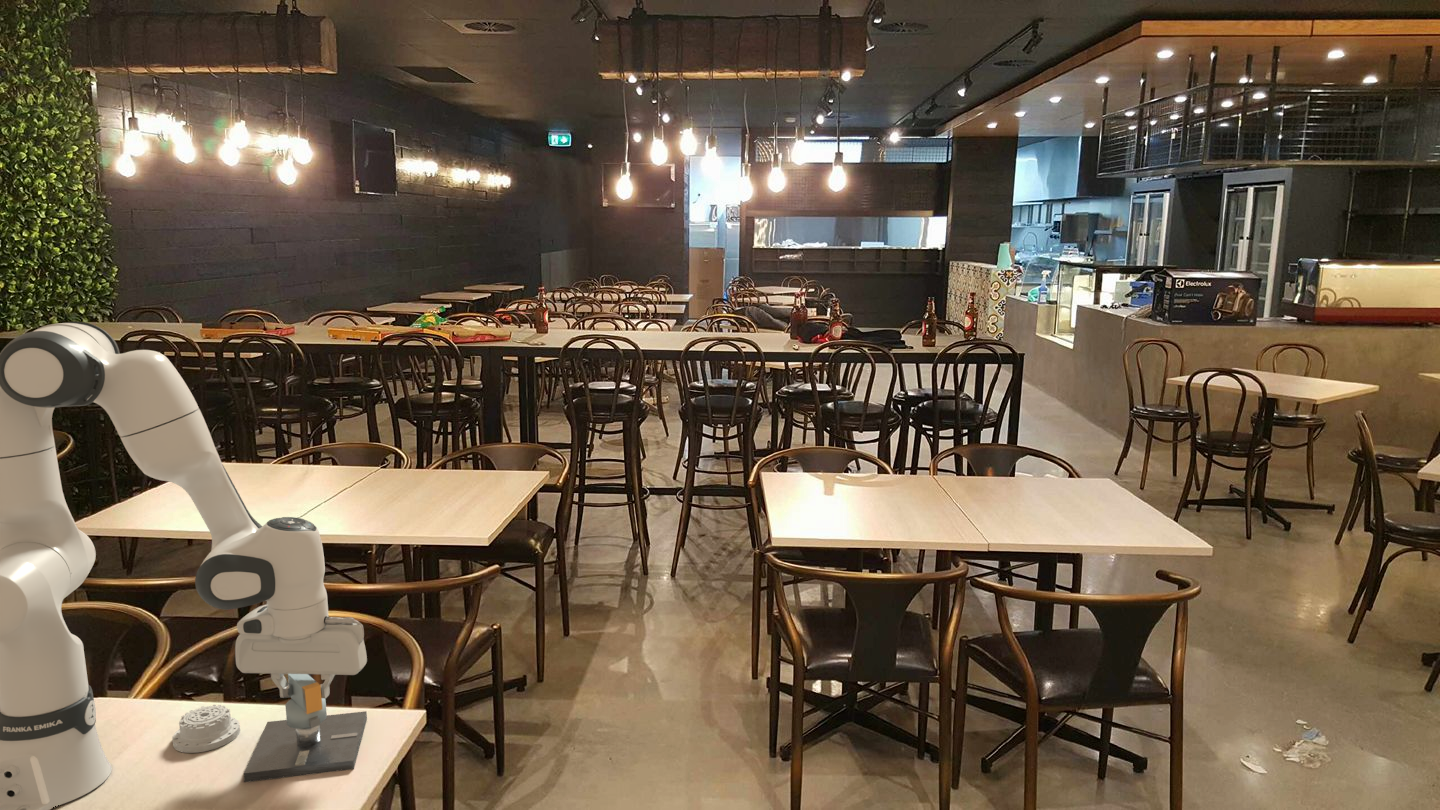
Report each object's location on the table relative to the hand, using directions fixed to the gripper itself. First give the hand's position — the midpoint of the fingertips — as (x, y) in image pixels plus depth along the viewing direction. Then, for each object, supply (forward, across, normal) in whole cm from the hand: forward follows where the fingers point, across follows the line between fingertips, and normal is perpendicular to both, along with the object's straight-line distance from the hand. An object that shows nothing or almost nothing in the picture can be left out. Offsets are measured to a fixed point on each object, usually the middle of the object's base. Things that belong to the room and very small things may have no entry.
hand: (305, 696), depth 152 cm
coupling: (+4, 0, 0) cm, 4 cm away
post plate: (+9, 0, 0) cm, 9 cm away
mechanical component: (+10, +19, -3) cm, 22 cm away
